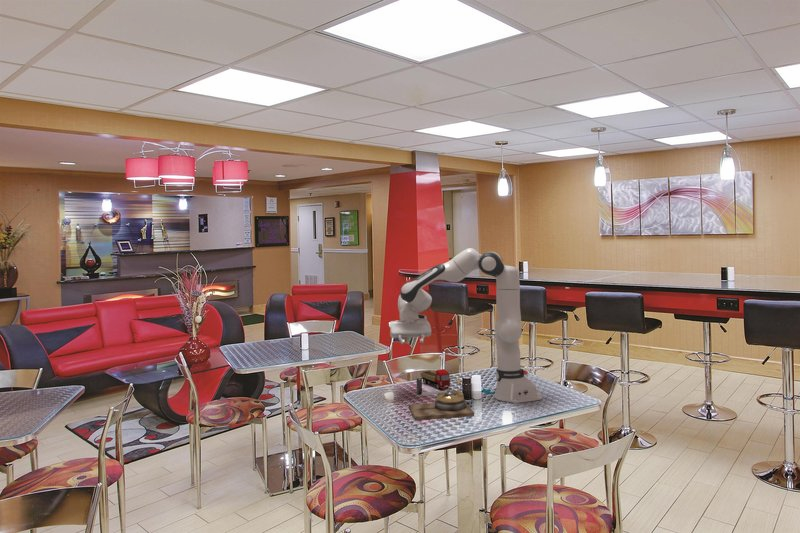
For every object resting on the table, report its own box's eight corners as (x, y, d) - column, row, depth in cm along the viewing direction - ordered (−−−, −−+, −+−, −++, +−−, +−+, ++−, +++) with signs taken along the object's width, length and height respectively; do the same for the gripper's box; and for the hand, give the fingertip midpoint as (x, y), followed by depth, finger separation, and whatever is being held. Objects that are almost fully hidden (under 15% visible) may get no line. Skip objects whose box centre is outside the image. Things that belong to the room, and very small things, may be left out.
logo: (450, 379, 291) (466, 376, 295) (450, 381, 291) (466, 378, 295) (485, 394, 260) (502, 390, 264) (485, 396, 260) (502, 393, 264)
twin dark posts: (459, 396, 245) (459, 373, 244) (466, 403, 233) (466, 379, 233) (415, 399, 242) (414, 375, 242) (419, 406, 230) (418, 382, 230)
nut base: (463, 404, 246) (463, 395, 246) (474, 415, 228) (474, 406, 228) (408, 407, 243) (408, 399, 243) (415, 420, 225) (414, 410, 225)
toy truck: (441, 391, 269) (440, 372, 269) (420, 383, 288) (420, 365, 287) (452, 389, 273) (451, 370, 272) (431, 381, 291) (430, 363, 290)
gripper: (388, 317, 258) (391, 340, 249) (429, 315, 261) (433, 338, 252) (387, 324, 263) (390, 348, 253) (427, 323, 266) (432, 346, 256)
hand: (412, 343), depth 253 cm, fingers open, 8 cm apart
